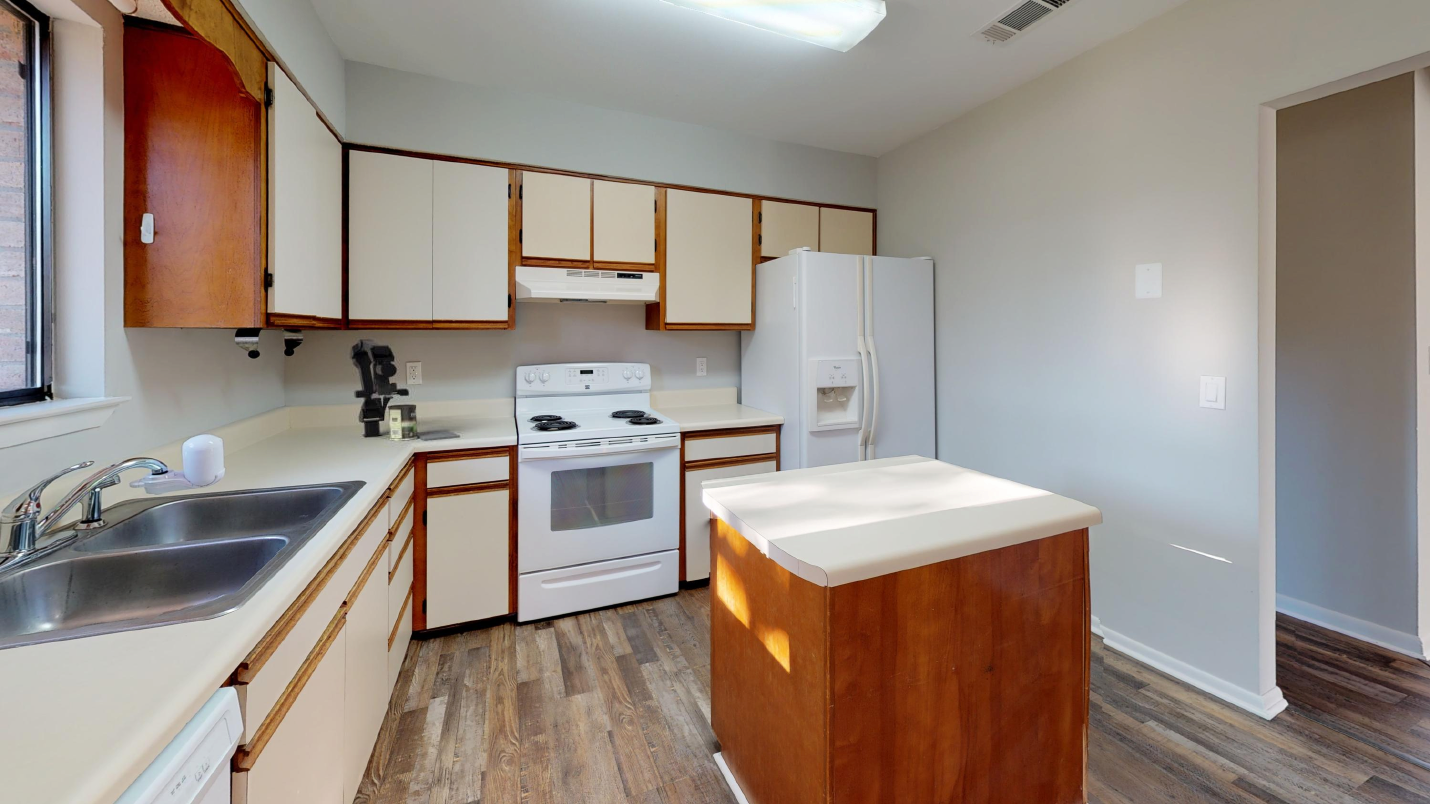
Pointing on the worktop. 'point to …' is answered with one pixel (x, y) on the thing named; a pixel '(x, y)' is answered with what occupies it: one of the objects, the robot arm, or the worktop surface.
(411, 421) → the coffee can
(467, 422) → the worktop surface
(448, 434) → the rubber mat
